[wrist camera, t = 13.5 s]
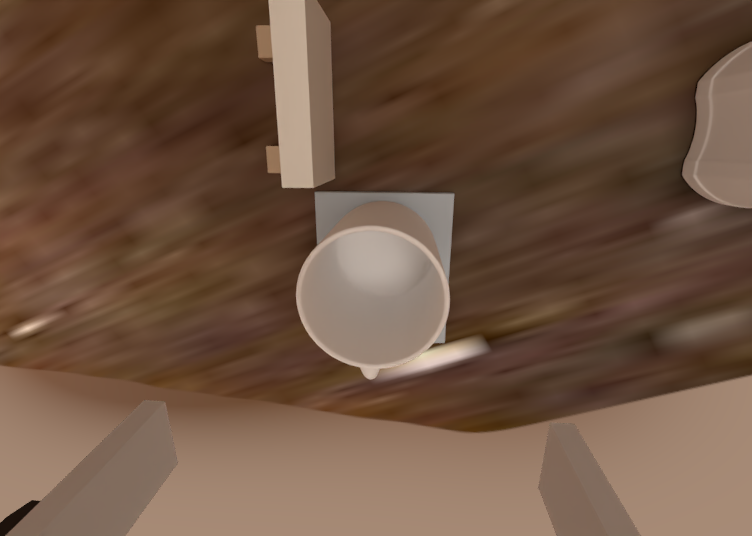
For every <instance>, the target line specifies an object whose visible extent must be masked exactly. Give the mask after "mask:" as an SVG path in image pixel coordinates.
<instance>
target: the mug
mask: <svg viewBox="0 0 752 536" xmlns="http://www.w3.org/2000/svg"><path fill="white" fill-rule="evenodd" d="M296 301H297V308H298V312H299V315H300V318H301V321H302V323H303V325H304V327H305V329H306V331H307V332H308V334H309V335H310V337H311V338H312V339H313V340H314V342H315V343H316V344H317V345H318V346H319V347H320V348H321V349H323V350H324V351H325V352H326V353H328V354H329V355H331V356H332V357H334V358H336V359H338V360H339V361H342V362H344V363H347V364H349V365H353V366H356V367H360V368H361V371H362V373H363V375H364V376H365V377H366V378H368V379H374V378H375V377H376V376H377V375H378V372H379V370H380V369H381V368H389V367H395V366H398V365H401V364H404V363H407V362H409V361H411V360H413V359H415V358H416V357H418V356H419V355H421V354H422V353H423V352H425V351H426V350H427V349H428V348H429V347H430V346H431V345H432V344H433V343H434V342H435V341H436V339H437V338H438V336H439V335H440V333H441V331H442V330H443V328H444V326H445V323H446V320H447V317H448V313H449V307H450V293H449V286H448V282H447V278H446V275H445V271H444V268H443V265H442V262H441V258H440V255H439V252H438V249H437V245H436V242H435V239H434V237H433V234H432V232H431V230H430V228H429V227H428V225H427V224H426V222H425V221H424V220H423V219H422V218H421V217H420V216H419V215H418V214H417V213H416V212H414V211H413V210H411V209H410V208H408V207H406V206H404V205H401V204H398V203H395V202H389V201H376V202H370V203H366V204H363V205H361V206H358V207H356V208H355V209H353V210H351V211H350V212H349V213H347V214H346V215H345V216H344V217H343V218H342V219H341V220H340V221H339V222H338V223H337V224H336V225H335V226H334V228H333V229H332V230H331V231H330V232H329V233H328V234H327V235H326V236H325V237H324V239H323V240H322V241H321V242H320V243H319V244H318V245H317V246H316V247H315V248H314V250H313V251H312V252H311V253H310V255H309V256H308V257H307V259H306V260H305V262H304V264H303V266H302V268H301V271H300V274H299V277H298V281H297V287H296Z"/></svg>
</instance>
